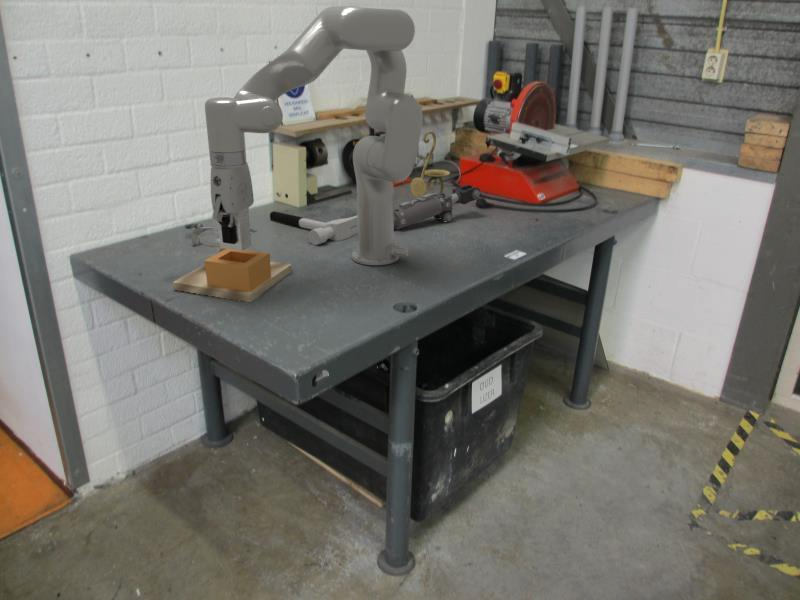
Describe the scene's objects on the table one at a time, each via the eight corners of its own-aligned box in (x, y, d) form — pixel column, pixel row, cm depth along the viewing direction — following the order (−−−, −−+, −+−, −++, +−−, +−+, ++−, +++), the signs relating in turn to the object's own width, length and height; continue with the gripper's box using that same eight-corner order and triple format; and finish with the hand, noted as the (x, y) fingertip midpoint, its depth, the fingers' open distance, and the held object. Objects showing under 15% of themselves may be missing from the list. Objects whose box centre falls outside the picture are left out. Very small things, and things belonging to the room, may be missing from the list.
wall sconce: (428, 210, 210) (430, 134, 200) (407, 205, 216) (408, 130, 206) (454, 202, 219) (457, 129, 209) (433, 198, 225) (435, 126, 215)
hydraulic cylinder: (483, 209, 204) (481, 180, 199) (390, 246, 188) (385, 215, 183) (469, 204, 210) (466, 175, 205) (377, 239, 193) (372, 209, 189)
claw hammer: (248, 214, 190) (320, 229, 173) (301, 199, 206) (372, 212, 189) (250, 231, 192) (321, 248, 175) (303, 216, 208) (372, 230, 191)
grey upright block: (251, 245, 144) (247, 202, 140) (241, 251, 140) (238, 207, 136) (230, 242, 145) (226, 200, 141) (220, 247, 142) (216, 204, 138)
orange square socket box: (293, 270, 159) (290, 216, 153) (249, 302, 140) (244, 242, 135) (221, 260, 165) (215, 208, 159) (170, 289, 146) (161, 232, 141)
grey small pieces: (194, 247, 174) (191, 225, 172) (192, 246, 175) (189, 224, 172) (257, 231, 188) (255, 211, 185) (255, 231, 188) (253, 210, 186)
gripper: (221, 167, 127) (229, 253, 134) (263, 153, 141) (268, 231, 148) (189, 164, 129) (199, 249, 136) (234, 150, 143) (240, 227, 151)
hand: (235, 239), depth 142 cm, fingers closed on grey upright block, 4 cm apart
